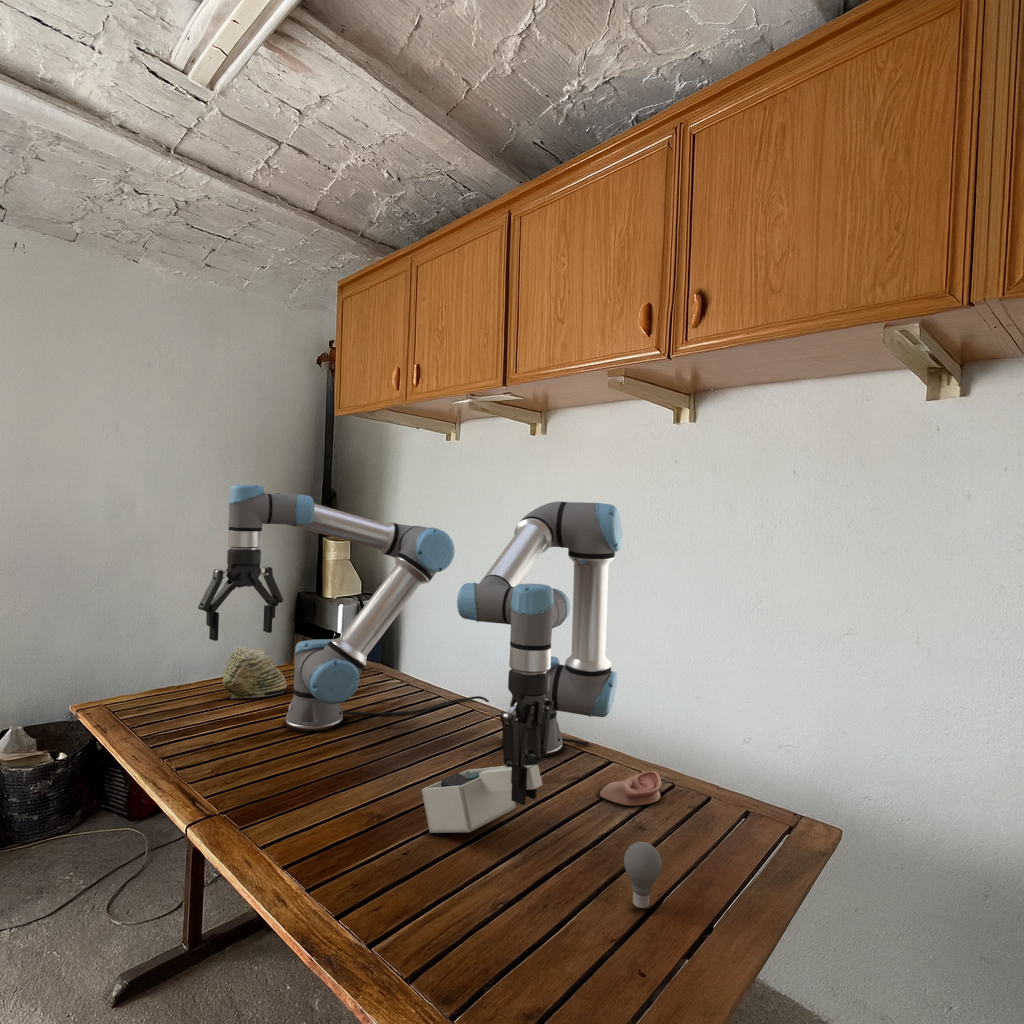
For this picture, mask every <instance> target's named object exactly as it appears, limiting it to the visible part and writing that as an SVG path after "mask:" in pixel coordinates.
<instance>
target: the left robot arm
mask: <svg viewBox="0 0 1024 1024" xmlns="http://www.w3.org/2000/svg"><path fill="white" fill-rule="evenodd" d="M263 525H287V526H291V527H294V528H299V529H301V530H307V531H309V532H314V533H317V534H321V535H324V536H328V537H331V538H336V539H340V540H344V541H346V542H351V543H355V544H358V545H361V546H366V547H369V548H373V549H377V550H378V551H379V553H380V554H382V555H386V556H389V557H391V558H394V561H395V565H394V567H393V569H392V570H391V571H390V572H389V574H388V575H387V576H386V578H384V580H383V581H382V583H381V584H380V585H379V586H378V588H377V589H376V590H375V592H374V593H373V594H372V596H371V597H370V598H369V599H368V601H367V602H366V603H365V605H364V606H363V607H362V608H361V610H360V611H359V612H358V613H357V615H356V616H355V617H354V619H353V620H352V621H351V622H350V624H349V625H348V626H347V627H346V629H345V630H344V632H343V633H342V634H341V635H340V636H339V637H338V638H329V639H328V638H327V639H325V638H324V639H307V640H302V641H299V642H297V644H295V650H294V672H293V673H294V674H293V695H292V696H293V697H292V699H291V702H289V705H288V711H287V713H286V715H285V726H286V728H287V729H289V730H291V731H294V732H295V731H296V732H301V733H316V732H325V731H329V730H332V729H335V728H337V727H339V726H340V725H342V723H343V722H344V715H359V716H394V715H396V716H397V715H408V714H415V713H420V712H426V711H430V710H433V709H435V708H440V707H442V706H446V705H450V704H453V703H457V702H458V703H459V702H465V701H471V700H477V699H478V700H483V701H484V702H486V703H490V700H489V699H487V698H486V697H484V696H481V695H476V696H470V697H463V698H462V697H461V698H456V699H452V700H447V701H444V702H441V703H437V704H434V705H430V706H428V707H424V708H419V709H413V710H404V711H389V712H370V711H369V712H368V711H349V710H348V711H345V710H344V711H343V709H342V706H341V703H344V702H346V701H348V700H349V699H350V698H351V697H352V696H354V694H355V693H356V691H357V690H358V687H359V685H360V675H361V674H362V673H363V671H364V670H365V668H366V667H367V666H368V665H367V656H368V655H369V653H370V652H371V651H372V649H373V648H374V647H375V646H376V644H377V643H378V642H379V640H380V639H381V638H382V636H383V635H384V634H385V632H386V631H387V630H388V628H389V627H390V626H391V625H392V623H393V622H394V620H395V619H396V617H398V615H399V614H400V612H401V611H402V610H403V608H404V607H405V606H406V605H407V603H408V602H409V600H410V599H411V598H412V596H413V595H414V594H415V593H416V591H417V590H418V588H419V587H420V586H421V585H424V584H429V583H430V582H431V580H432V579H433V578H434V576H435V575H436V574H437V573H441V572H443V571H444V570H446V569H447V568H449V567H450V566H451V564H452V562H453V561H454V557H455V545H454V541H453V539H452V537H451V536H450V535H449V534H448V533H447V532H445V530H441V529H440V528H437V527H428V526H427V527H426V526H421V525H407V524H400V523H396V522H392V521H389V522H387V523H384V522H380V521H377V520H373V519H369V518H366V517H362V516H360V515H356V514H353V513H349V512H346V511H342V510H338V509H335V508H331V507H328V506H325V505H321V504H318V503H314V499H313V497H312V496H310V495H306V494H300V493H299V494H292V493H291V494H290V493H279V492H274V493H267V492H265V489H264V486H263V485H259V484H242V483H241V484H238V483H237V484H236V483H235V484H233V485H232V486H231V487H230V491H229V501H228V530H227V546H228V547H229V549H227V552H226V553H227V554H226V555H227V557H226V564H227V567H226V569H225V570H223V569H218V568H215V569H214V570H213V573H212V579H211V581H210V583H209V584H208V586H207V589H206V590H205V592H204V594H203V596H202V598H201V600H200V603H199V604H198V606H197V609H198V610H200V611H204V612H206V619H205V620H206V621H205V622H206V627H209V635H208V639H209V640H211V641H214V642H217V641H219V624H220V612H218V611H217V610H218V609H219V608H220V606H221V605H222V604H223V603H224V601H225V600H226V599H227V598H228V597H229V595H231V593H232V592H233V591H234V590H235V589H236V588H244V587H248V588H250V587H252V588H254V590H256V592H257V593H258V594H259V596H260V597H261V598H262V599H263V600H264V601H265V603H266V605H265V604H264V605H263V625H262V627H263V629H262V631H263V632H264V633H268V634H270V633H273V619H275V618H276V607H278V606H279V604H282V603H283V602H284V598H283V596H282V593H281V591H280V589H279V587H278V584H277V582H276V580H275V577H274V572H273V567H271V566H262V567H261V563H262V550H261V547H262V546H263V545H262V544H263V543H262V540H263ZM260 576H262V577H263V579H264V581H265V583H266V585H267V586H266V587H267V588H268V589H267V588H266V587H265V586H264V585H263V583H262V581H261V580H260V578H259V577H260ZM225 578H227V580H225V582H224V583H223V586H222V588H221V589H220V590H219V588H220V587H221V585H222V582H223V580H224V579H225ZM218 590H219V591H218Z"/></svg>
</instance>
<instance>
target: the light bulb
mask: <svg viewBox="0 0 1024 1024" xmlns="http://www.w3.org/2000/svg"><path fill="white" fill-rule="evenodd" d="M623 866H624V869H625V871H626V874H627V876H628V878H629V880H630V886H631V889H632V904H633V905H634V906H635V907H637V908H640V909H646V908H648V907H649V906H650V894H651V893H652V891H653V886H654V884H655V883H656V881H657V880H658V878H659V877H660V875H661V872H662V869H663V859H662V857H661V855H660V853H659V851H658V850H657V848H656V847H655V846H653V844H651V843H649V842H646V841H636V842H634V843H631V845H630V846H629V847H628V848H627V849H626V851H625V853H624V856H623Z"/></svg>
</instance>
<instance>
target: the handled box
mask: <svg viewBox="0 0 1024 1024" xmlns="http://www.w3.org/2000/svg"><path fill="white" fill-rule="evenodd" d="M525 767H527V785H526V790H530V789H536V788H537V789H538V788H539V787H542V786H543V781H542V776H541V771H540V768H539V764H538V765H528V766H525ZM481 771H483V772H481ZM473 772H480V773H479V778H477V779H474V780H472V781H470V782H468V783H465V784H463V785H461V786H449V787H441V781H442V780H440V781H438V782H435V783H433V784H430V785H429V786H426V787H424V788H421V789H420V790H421V795H422V801H423V805H424V810H425V811H424V812H425V816H426V821H427V828H428V832H429V834H442V833H443V834H447V833H449V834H453V833H472V832H473V831H475V830H478V828H481V827H483V826H484V825H487V824H488V823H490V822H492V821H494V820H496V819H498V818H499V817H501V816H503V815H505V814H507V813H510V812H511V811H513V810H514V809H516V808H517V804H516V802H514V801H512V800H511V796H512V784H511V777H512V776H511V773H512V767H510V766H508V765H499V766H490V767H481V768H469V769H466V770H464V771H462V772H458V773H459V774H461V775H463V776H465V775H467V774H469V773H473Z"/></svg>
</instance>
